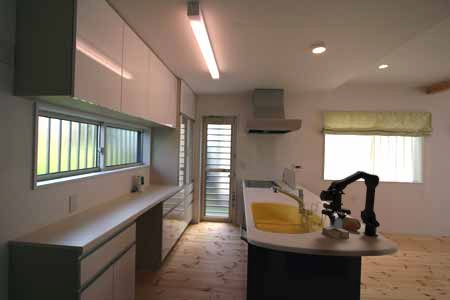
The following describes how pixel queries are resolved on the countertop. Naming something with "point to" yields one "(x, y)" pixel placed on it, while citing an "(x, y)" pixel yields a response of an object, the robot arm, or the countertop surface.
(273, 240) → the countertop surface
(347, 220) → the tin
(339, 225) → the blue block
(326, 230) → the walnut block
